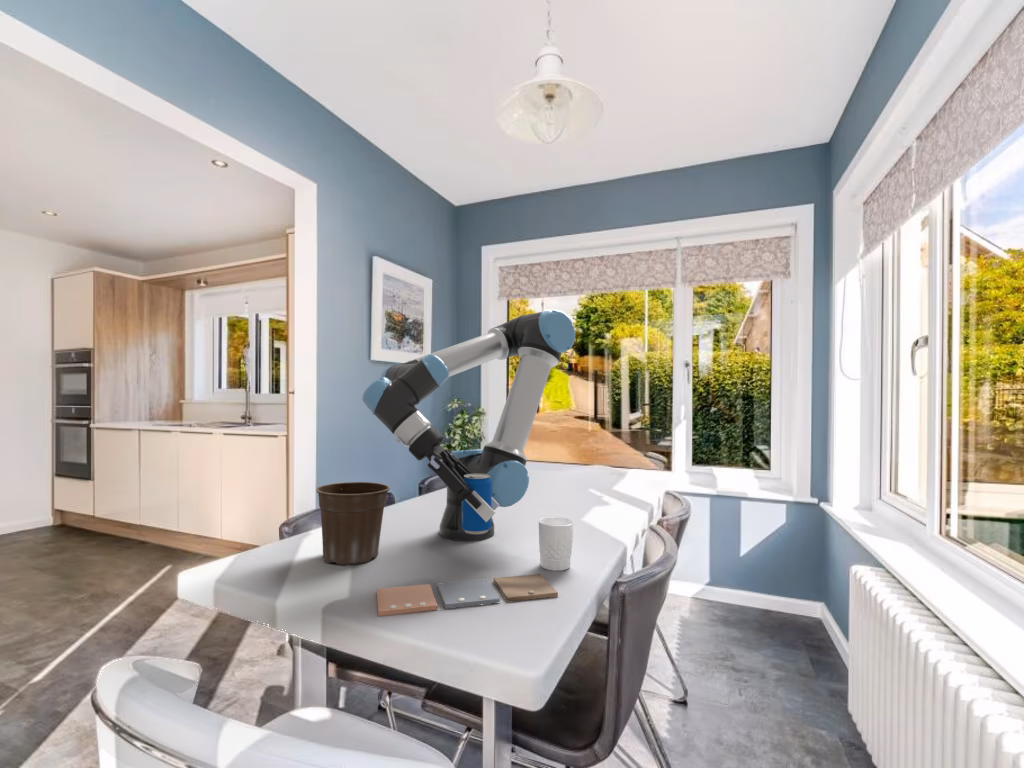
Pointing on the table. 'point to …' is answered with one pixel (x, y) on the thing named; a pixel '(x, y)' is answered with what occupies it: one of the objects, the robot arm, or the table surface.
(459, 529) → the robot arm
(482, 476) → the beverage can
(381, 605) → the three-dot tile
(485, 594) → the two-dot tile
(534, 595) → the one-dot tile
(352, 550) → the plant pot
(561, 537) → the white cup
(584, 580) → the table surface
